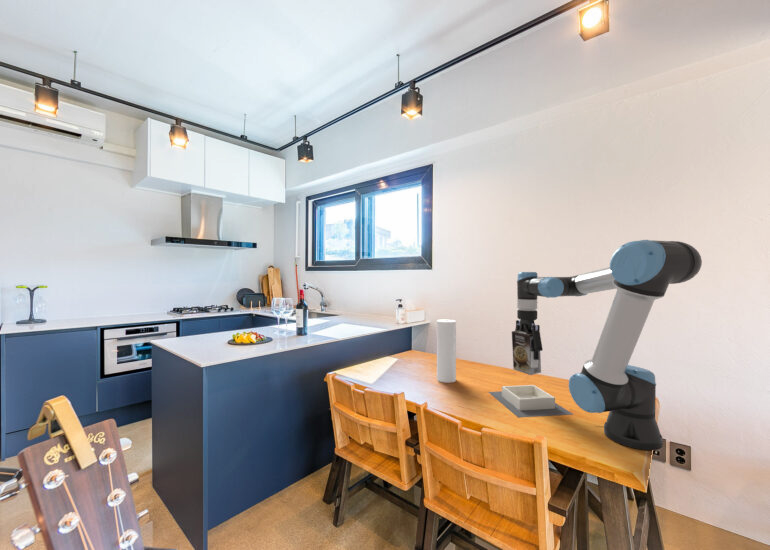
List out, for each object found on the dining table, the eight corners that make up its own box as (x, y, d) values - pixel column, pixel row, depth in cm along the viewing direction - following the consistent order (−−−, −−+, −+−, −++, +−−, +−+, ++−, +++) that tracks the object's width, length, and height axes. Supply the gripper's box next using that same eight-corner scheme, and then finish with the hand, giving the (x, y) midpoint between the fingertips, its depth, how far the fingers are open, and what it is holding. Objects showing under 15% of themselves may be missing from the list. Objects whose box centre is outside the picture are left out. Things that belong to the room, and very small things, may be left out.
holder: (555, 408, 129) (555, 397, 129) (519, 410, 127) (519, 399, 127) (534, 394, 143) (534, 384, 143) (501, 396, 141) (501, 386, 141)
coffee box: (512, 369, 138) (510, 331, 137) (523, 366, 141) (522, 329, 140) (530, 375, 130) (528, 335, 129) (542, 372, 132) (540, 332, 132)
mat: (573, 415, 123) (573, 414, 123) (518, 418, 121) (518, 417, 121) (534, 390, 149) (534, 389, 149) (488, 392, 147) (488, 391, 147)
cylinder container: (454, 376, 169) (454, 318, 169) (456, 382, 160) (456, 321, 160) (436, 376, 170) (436, 318, 170) (437, 382, 161) (437, 321, 161)
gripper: (553, 312, 124) (552, 371, 124) (521, 306, 147) (521, 356, 147) (534, 313, 123) (534, 372, 123) (505, 306, 146) (505, 356, 146)
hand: (527, 363), depth 135 cm, fingers closed on coffee box, 10 cm apart
